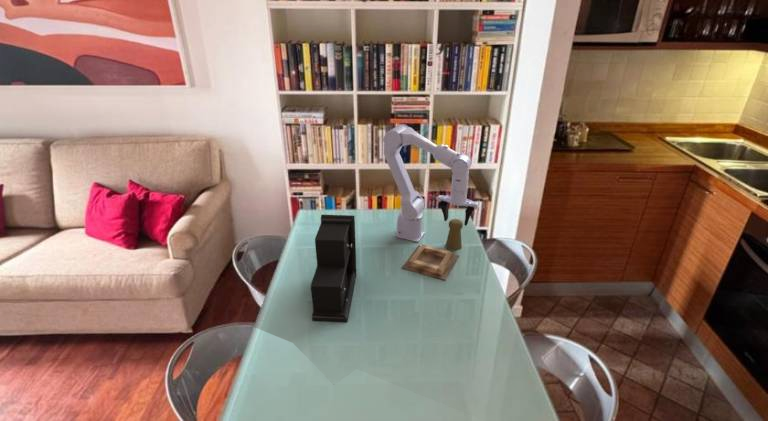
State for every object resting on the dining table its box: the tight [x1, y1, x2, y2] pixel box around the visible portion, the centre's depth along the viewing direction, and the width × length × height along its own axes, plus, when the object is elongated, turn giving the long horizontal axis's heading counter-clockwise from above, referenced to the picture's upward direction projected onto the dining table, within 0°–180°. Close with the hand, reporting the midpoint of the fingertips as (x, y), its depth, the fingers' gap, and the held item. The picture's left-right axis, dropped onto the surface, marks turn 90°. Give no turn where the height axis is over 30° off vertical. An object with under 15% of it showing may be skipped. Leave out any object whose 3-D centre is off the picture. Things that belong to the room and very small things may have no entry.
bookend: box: [310, 214, 357, 323], centre depth 124 cm, size 23×11×24 cm, turn 177°
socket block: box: [401, 243, 460, 281], centre depth 146 cm, size 16×16×2 cm
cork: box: [445, 218, 464, 251], centre depth 153 cm, size 6×6×11 cm
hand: (455, 222), depth 151 cm, fingers open, 7 cm apart
